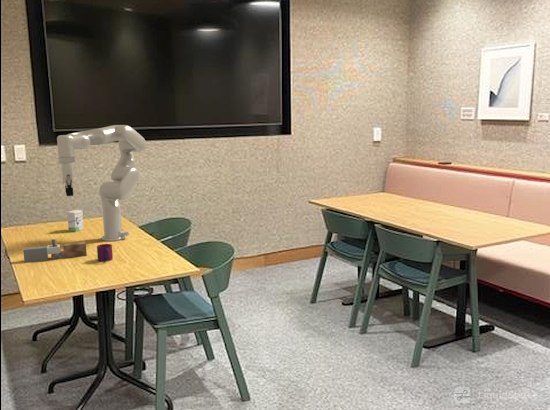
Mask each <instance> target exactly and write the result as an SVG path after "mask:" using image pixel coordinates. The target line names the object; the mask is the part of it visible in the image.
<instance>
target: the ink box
mask: <svg viewBox="0 0 550 410" xmlns="http://www.w3.org/2000/svg"><path fill="white" fill-rule="evenodd" d="M67 223H68V224H67V225H68V226H67V227H68V232H71V233H76V232H80V231H82V230H84V215H83V209H73V210H70V211H68V212H67Z"/></svg>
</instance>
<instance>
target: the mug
mask: <svg viewBox="0 0 550 410" xmlns="http://www.w3.org/2000/svg"><path fill="white" fill-rule="evenodd" d="M96 253H97V255H96V256H97V261H98V262H110V261H113V259H114V257H113V245H112V244H111V243H104V244H103V243H102V244H101V243H100V244H97V246H96Z"/></svg>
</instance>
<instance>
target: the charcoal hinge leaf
mask: <svg viewBox="0 0 550 410" xmlns="http://www.w3.org/2000/svg"><path fill="white" fill-rule="evenodd" d="M56 245H57V247H53V246H52V244H50V245H49V244H48V245H43V246H42V245H41V246H32V247H30V246H29V247H24V248H23V250H22V251H23V260H24V261H23V262H24V263H32V261H33V262H42V261H48V260H49V256H48V255H51V254H56V253H60V251H61V247H60V246H61V245H60V243H59V244H56Z"/></svg>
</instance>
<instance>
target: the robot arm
mask: <svg viewBox="0 0 550 410" xmlns="http://www.w3.org/2000/svg"><path fill="white" fill-rule="evenodd" d="M56 141H57V142H56V144H57V156H58V164H59V165H61V167H60V169H61V182H62V184H63V185H65V186H64V187H65V195H66V197H73V196H74V187H73V184H74V164H75V163H76V155H75V150H85V149H87V148H89V147H90V146H100V145H106V144H109V143H110V144H111V143H113V142H118V148H119V153H120V156H119V159H118V162H117V163H116V165H115V166H114V168H113V170H112V172H111V174H110V179H111V180H112V181H104V182H103V183H102V184H100V185H99V196H100V200H101V206H102V220H103V235H102V236H101V240H102V241H105V242H112V241H113V242H115V241H121V240H124V239H125V238H126V237H127V236H128V237H129V236H130V232H129V231H125V229H122V228H123V227H122V211H121V210H122V208H121V207H122V206H121V203H120V201H125V200H127V199H128V198H129V197H130V196H131V194H132V192H133V191H134V189H135V187H136V185H137V183H138V182H139V180H140V179H139V178H140V174H139V170H138V169H137V168H135V167H134V166H135V163H136V159H135V156H134V153H142V152H144V151H145V150H146V148H147V141H146V140H145V138H144V137H143V135H141V134H140V133H139V132H137V130H135V129H134V128H133V127H131V126H130V125H127V124H114V125H108V126H104V127H100V128H93V129H89V130H83V131H77V132H72V133H68V134H63V135H62V134H61V135H58V136H57V137H56Z"/></svg>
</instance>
